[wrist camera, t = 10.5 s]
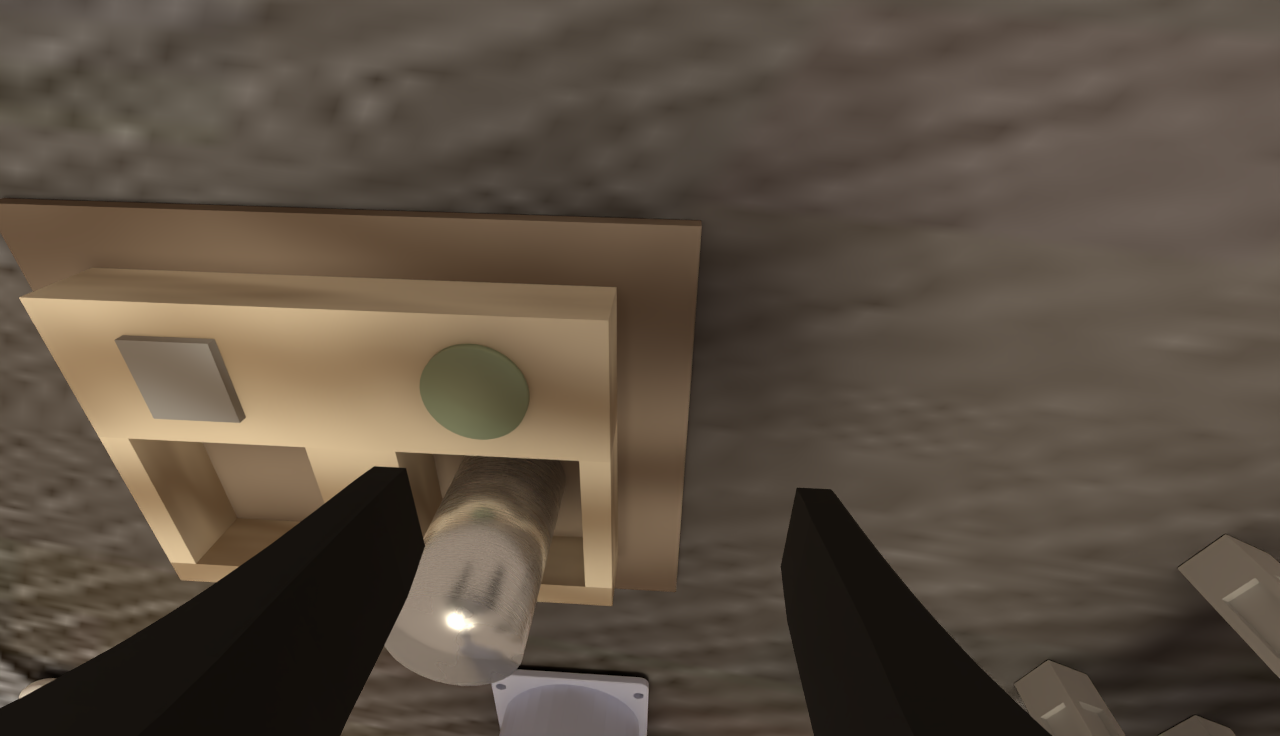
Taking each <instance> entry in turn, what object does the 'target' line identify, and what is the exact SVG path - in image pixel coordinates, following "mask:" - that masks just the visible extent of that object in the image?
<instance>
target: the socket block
mask: <svg viewBox="0 0 1280 736" xmlns="http://www.w3.org/2000/svg"><path fill="white" fill-rule="evenodd" d="M701 230H702V224H701V220H670V219H639V218H607V217H576V216H545V215H513V214H482V213H451V212H419V211H388V210H357V209H325V208H294V207H263V206H231V205H200V204H169V203H137V202H106V201H75V200H43V199H12V198H3V199H0V233H1V234H2V236H3V238H4V240H5V242H6V243H7V245H8V247H9V249H10V251H11V252H12V254H13V256H14V258H15V259H16V261H17V263H18V265H19V267H20V268H21V270H22V272H23V274H24V276H25V277H26V279H27V281H28V283H29V285H30V286H31V288H32V290H33V292H31V293H29V294H26V295H24V296H21V297H19V298H20V300H21V302H22V304H23V305H24V307H25V309H26V311H27V312H28V314H29V316H30V318H31V319H32V321H33V323H34V325H35V326H36V328H37V330H38V331H39V333H40V335H41V337H42V338H43V340H44V342H45V344H46V345H47V347H48V349H49V351H50V352H51V354H52V356H53V358H54V359H55V361H56V363H57V365H58V366H59V368H60V370H61V372H62V373H63V375H64V377H65V379H66V380H67V382H68V384H69V386H70V387H71V389H72V391H73V393H74V394H75V396H76V398H77V400H78V401H79V403H80V405H81V407H82V408H83V410H84V412H85V414H86V415H87V417H88V419H89V420H90V422H91V424H92V426H93V427H94V429H95V431H96V433H97V434H98V436H99V438H100V440H101V441H102V443H103V445H104V447H105V448H106V450H107V452H108V454H109V455H110V457H111V459H112V461H113V462H114V464H115V466H116V468H117V469H118V471H119V473H120V475H121V476H122V478H123V480H124V482H125V483H126V485H127V487H128V489H129V490H130V492H131V494H132V496H133V497H134V499H135V501H136V503H137V504H138V506H139V508H140V509H141V511H142V513H143V515H144V516H145V518H146V520H147V522H148V523H149V525H150V527H151V529H152V530H153V532H154V534H155V536H156V537H157V539H158V541H159V543H160V544H161V546H162V548H163V550H164V551H165V553H166V555H167V557H168V558H169V560H170V562H171V564H172V565H173V567H174V569H175V571H176V572H177V574H178V576H179V578H180V579H181V580H188V581H205V582H218V581H219V580H221V579H222V578H223V577H225V576H226V575H228V574H229V573H230V572H232V571H233V570H235V569H236V568H238V567H239V566H240V565H242V564H243V563H245V562H246V561H248V560H249V559H250V558H252V557H253V556H255V555H256V554H258V553H259V552H260V551H262V550H263V549H265V548H266V547H268V546H269V545H270V544H272V543H273V542H274V541H276V540H277V539H278V538H280V537H281V536H282V535H284V534H285V533H286V532H288V531H289V530H290V529H292V528H293V527H294V526H296V525H297V524H298V523H300V522H301V521H302V520H304V519H305V518H306V517H307V516H309V515H310V514H311V513H313V512H314V511H315V510H317V509H318V508H319V507H321V506H322V505H323V504H324V503H326V502H327V501H328V500H330V499H331V498H332V497H334V496H335V495H336V494H337V493H339V492H340V491H341V490H343V489H344V488H345V487H347V486H348V485H349V484H351V483H352V482H353V481H354V480H356V479H357V478H358V477H360V476H361V475H363V474H364V473H365V472H367V471H368V470H370V469H371V468H372V467H374V466H379V467H399V468H406V470H407V474H408V478H409V482H410V486H411V490H412V494H413V498H414V502H415V507H416V511H417V515H418V519H419V523H420V527H421V531H422V535H423V538H424V536H425V534H426V532H427V530H428V528H429V526H430V524H431V522H432V520H433V518H434V516H435V514H436V512H437V510H438V508H439V506H440V504H441V502H442V500H443V498H444V496H445V494H446V492H447V490H448V488H449V486H450V484H451V482H452V480H453V478H454V476H455V474H456V472H457V470H458V468H459V466H460V464H461V462H462V460H463V458H464V457H465V455H470V456H490V457H510V458H530V459H550V460H559V461H560V463H561V465H562V467H563V469H564V472H565V477H566V485H565V490H564V494H563V498H562V502H561V506H560V510H559V514H558V518H557V522H556V526H555V530H554V534H553V538H552V542H551V546H550V550H549V554H548V558H547V562H546V566H545V570H544V574H543V578H542V582H541V586H540V590H539V594H538V598H537V602H554V603H571V604H587V605H604V606H612V604H613V595H614V588H618V589H635V590H652V591H669V592H676V582H677V568H678V554H679V540H680V526H681V512H682V497H683V483H684V469H685V455H686V441H687V427H688V413H689V399H690V385H691V371H692V357H693V343H694V328H695V314H696V300H697V286H698V272H699V258H700V244H701Z"/></svg>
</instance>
